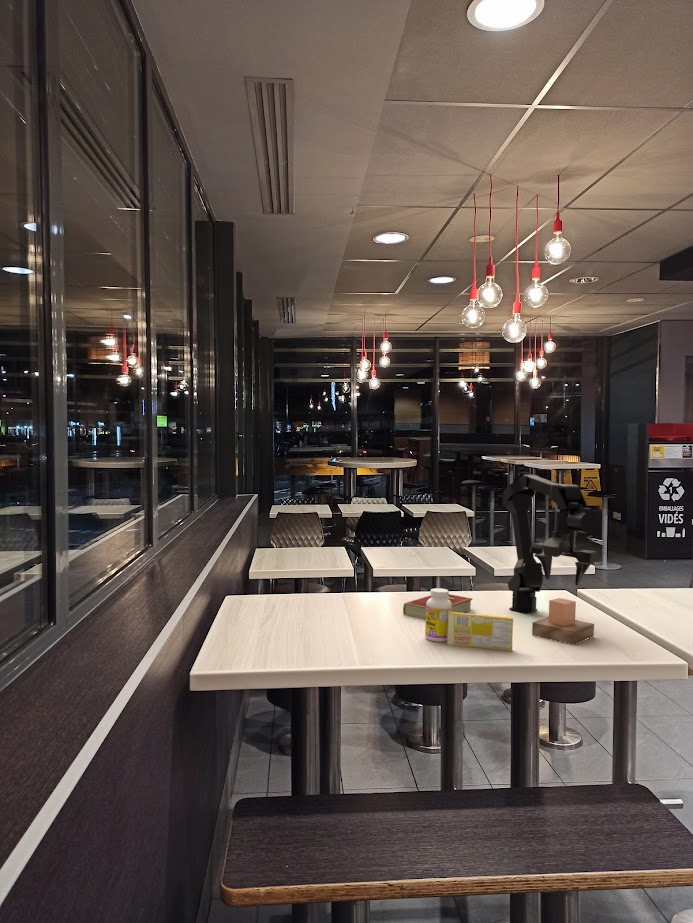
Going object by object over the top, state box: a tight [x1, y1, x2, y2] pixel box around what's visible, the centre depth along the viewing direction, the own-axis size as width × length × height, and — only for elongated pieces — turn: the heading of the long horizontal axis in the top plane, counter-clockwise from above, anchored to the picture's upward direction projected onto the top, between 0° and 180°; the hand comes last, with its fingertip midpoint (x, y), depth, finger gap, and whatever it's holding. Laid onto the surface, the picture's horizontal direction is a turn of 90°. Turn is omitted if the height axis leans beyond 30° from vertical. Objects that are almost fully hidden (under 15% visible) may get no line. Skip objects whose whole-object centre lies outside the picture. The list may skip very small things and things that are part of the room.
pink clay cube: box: [548, 597, 577, 626], centre depth 185 cm, size 5×5×6 cm
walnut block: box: [531, 616, 595, 645], centre depth 185 cm, size 12×12×4 cm
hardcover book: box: [402, 593, 473, 620], centre depth 207 cm, size 12×21×4 cm, turn 142°
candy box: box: [446, 612, 514, 652], centre depth 172 cm, size 16×2×8 cm, turn 74°
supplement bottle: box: [424, 587, 452, 643], centre depth 177 cm, size 7×7×13 cm
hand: (562, 582), depth 195 cm, fingers open, 9 cm apart
